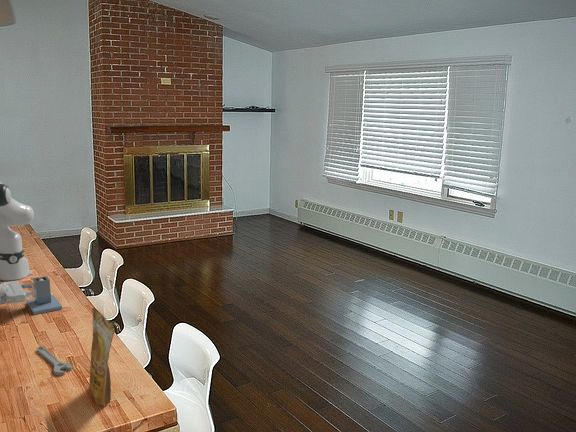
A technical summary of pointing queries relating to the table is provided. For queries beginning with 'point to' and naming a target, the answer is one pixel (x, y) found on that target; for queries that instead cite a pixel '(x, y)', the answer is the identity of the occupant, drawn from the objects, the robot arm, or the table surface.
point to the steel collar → (42, 290)
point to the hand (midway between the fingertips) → (33, 288)
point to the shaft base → (44, 305)
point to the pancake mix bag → (100, 359)
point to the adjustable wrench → (54, 361)
